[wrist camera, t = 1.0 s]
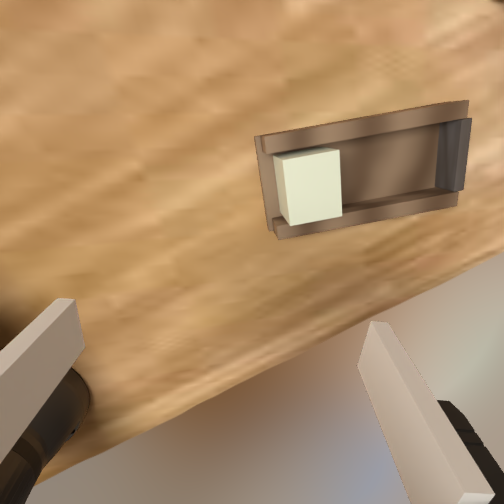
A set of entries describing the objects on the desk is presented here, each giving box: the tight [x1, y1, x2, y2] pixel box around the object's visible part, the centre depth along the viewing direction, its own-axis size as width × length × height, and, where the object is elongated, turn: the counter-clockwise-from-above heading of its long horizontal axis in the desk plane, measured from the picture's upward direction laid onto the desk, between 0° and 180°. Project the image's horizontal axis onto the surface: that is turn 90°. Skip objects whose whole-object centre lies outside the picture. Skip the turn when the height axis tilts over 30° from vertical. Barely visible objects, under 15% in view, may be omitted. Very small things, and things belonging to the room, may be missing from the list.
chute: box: [254, 100, 472, 240], centre depth 31 cm, size 20×10×4 cm, turn 99°
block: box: [273, 146, 342, 226], centre depth 29 cm, size 5×6×5 cm
